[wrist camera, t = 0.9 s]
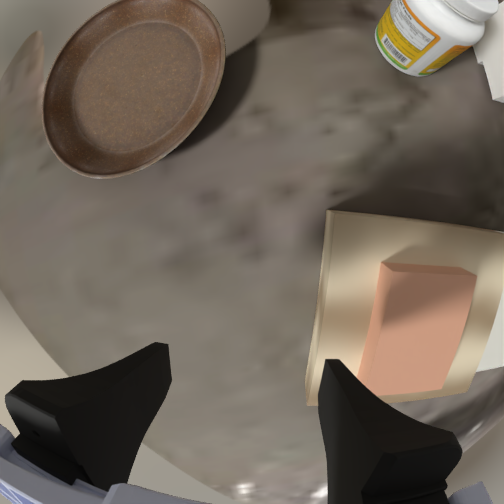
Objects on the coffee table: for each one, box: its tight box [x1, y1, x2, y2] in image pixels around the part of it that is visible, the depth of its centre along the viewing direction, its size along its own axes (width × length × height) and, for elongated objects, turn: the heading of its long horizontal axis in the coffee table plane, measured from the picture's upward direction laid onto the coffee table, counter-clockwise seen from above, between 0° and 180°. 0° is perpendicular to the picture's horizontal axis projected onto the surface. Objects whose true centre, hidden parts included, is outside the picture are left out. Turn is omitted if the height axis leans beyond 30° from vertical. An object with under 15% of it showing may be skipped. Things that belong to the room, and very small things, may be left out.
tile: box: [357, 262, 477, 396], centre depth 15 cm, size 8×6×2 cm
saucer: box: [42, 0, 226, 179], centre depth 16 cm, size 15×15×3 cm
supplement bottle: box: [375, 0, 499, 77], centre depth 10 cm, size 5×5×10 cm
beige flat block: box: [305, 210, 504, 406], centre depth 18 cm, size 13×14×3 cm
